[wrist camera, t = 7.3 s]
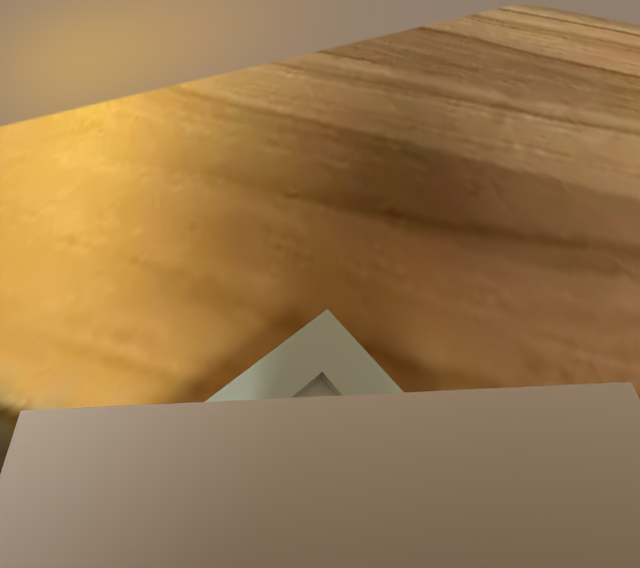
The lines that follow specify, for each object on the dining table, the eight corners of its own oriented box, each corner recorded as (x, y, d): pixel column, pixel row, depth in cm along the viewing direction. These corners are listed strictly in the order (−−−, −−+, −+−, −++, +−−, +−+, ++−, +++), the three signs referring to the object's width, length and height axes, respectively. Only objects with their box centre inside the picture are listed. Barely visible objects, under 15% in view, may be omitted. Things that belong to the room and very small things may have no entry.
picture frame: (276, 910, 10) (272, 1003, 8) (85, 511, 14) (53, 515, 12) (527, 552, 14) (560, 562, 12) (324, 325, 18) (327, 308, 16)
